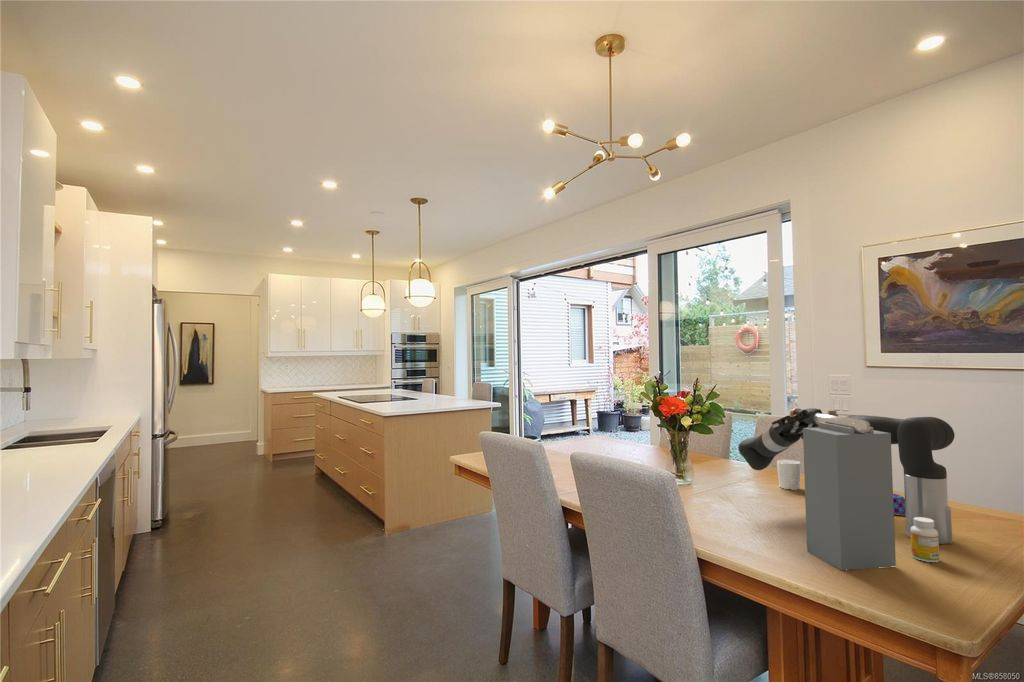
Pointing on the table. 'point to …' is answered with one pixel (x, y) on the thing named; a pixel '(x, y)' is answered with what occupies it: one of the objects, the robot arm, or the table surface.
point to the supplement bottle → (924, 540)
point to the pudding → (898, 504)
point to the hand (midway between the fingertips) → (813, 412)
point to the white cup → (788, 474)
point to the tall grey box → (849, 496)
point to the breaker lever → (834, 420)
